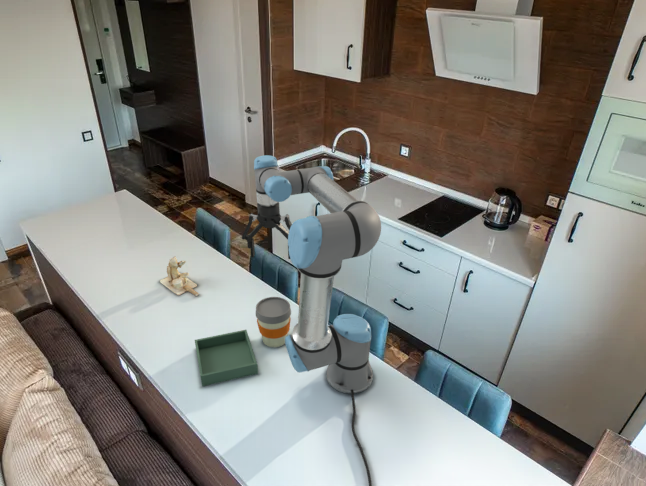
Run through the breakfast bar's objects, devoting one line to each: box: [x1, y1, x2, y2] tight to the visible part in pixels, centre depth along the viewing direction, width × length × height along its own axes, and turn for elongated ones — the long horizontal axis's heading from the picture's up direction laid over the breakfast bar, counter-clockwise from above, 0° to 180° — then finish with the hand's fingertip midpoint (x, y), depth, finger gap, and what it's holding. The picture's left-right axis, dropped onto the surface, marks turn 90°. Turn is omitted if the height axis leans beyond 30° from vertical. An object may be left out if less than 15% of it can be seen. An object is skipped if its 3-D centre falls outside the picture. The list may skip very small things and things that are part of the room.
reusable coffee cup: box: [255, 296, 292, 348], centre depth 162 cm, size 13×13×15 cm
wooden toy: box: [159, 255, 200, 297], centre depth 192 cm, size 22×10×14 cm, turn 44°
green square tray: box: [194, 329, 259, 387], centre depth 156 cm, size 19×19×5 cm
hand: (271, 256), depth 165 cm, fingers open, 13 cm apart
